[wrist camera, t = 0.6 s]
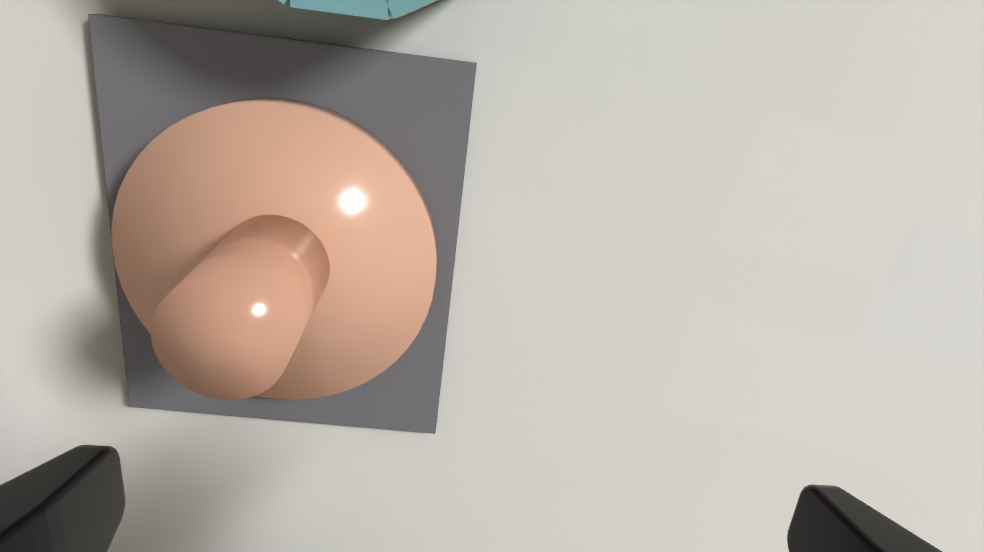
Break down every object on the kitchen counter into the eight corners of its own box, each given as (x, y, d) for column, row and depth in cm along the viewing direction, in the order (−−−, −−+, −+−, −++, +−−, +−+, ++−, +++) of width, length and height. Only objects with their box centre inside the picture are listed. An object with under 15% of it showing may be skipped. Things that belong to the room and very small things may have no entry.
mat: (435, 426, 23) (435, 433, 22) (135, 399, 22) (129, 406, 22) (476, 62, 18) (476, 64, 18) (96, 13, 17) (87, 14, 17)
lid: (424, 394, 22) (408, 516, 17) (141, 368, 21) (37, 487, 16) (452, 118, 18) (443, 167, 13) (114, 77, 18) (-31, 111, 13)
